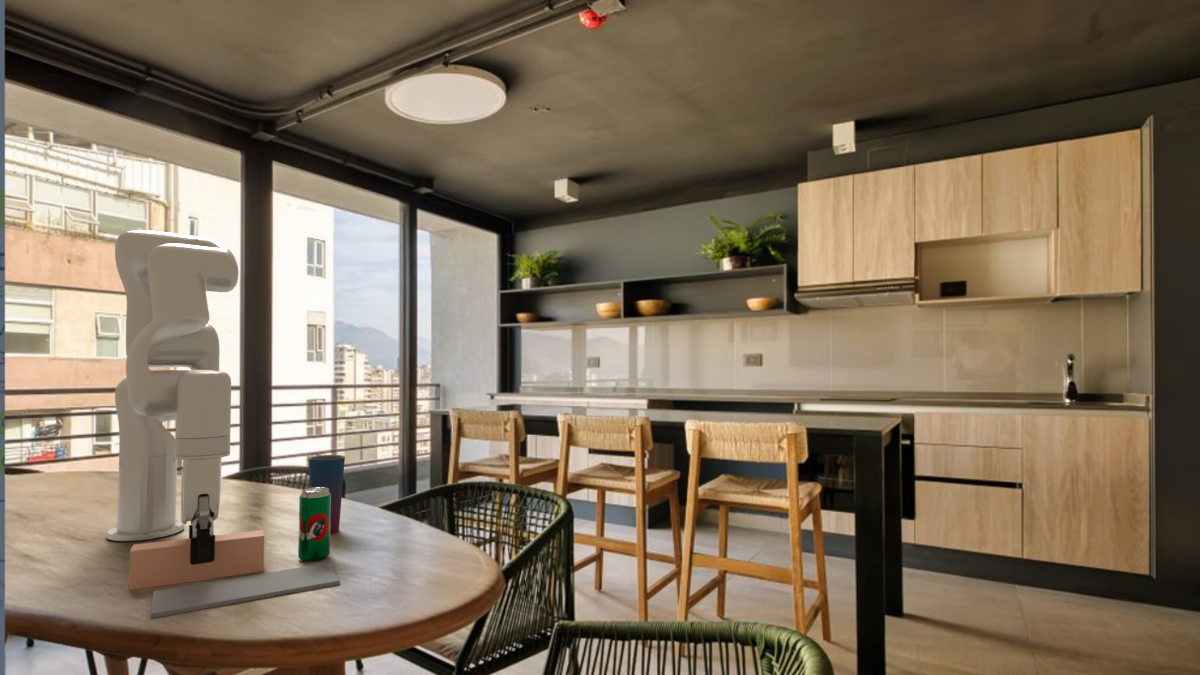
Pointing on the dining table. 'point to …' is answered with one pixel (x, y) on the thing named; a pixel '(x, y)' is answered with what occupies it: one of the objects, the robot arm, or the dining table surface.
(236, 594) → the mat
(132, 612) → the dining table surface
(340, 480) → the cup
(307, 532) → the soda can
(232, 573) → the peach wooden plank
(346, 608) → the dining table surface
